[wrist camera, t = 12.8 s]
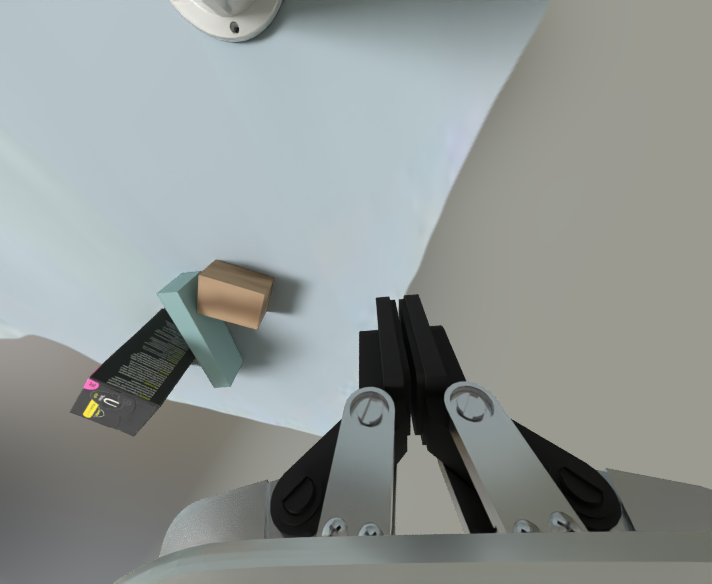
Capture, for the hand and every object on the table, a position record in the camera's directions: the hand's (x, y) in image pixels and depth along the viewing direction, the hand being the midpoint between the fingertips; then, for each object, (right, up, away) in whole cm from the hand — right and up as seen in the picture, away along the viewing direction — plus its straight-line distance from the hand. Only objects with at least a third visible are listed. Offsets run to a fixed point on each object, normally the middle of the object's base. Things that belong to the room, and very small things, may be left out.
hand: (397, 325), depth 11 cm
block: (-20, +2, +31) cm, 37 cm away
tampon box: (-35, -7, +37) cm, 52 cm away
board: (-26, -4, +35) cm, 44 cm away
